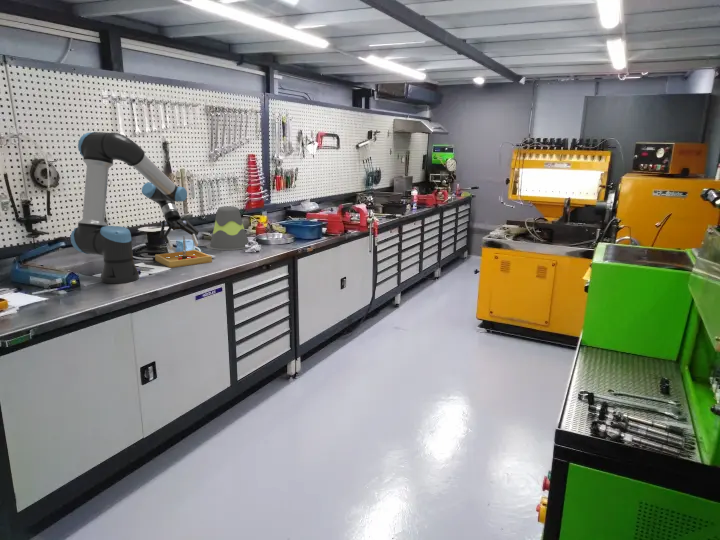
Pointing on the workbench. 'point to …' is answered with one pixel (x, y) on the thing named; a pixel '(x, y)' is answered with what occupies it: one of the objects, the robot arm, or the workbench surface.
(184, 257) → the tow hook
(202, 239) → the workbench surface
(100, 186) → the robot arm
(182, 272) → the workbench surface
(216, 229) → the gray green truncated cone
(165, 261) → the parts tray
